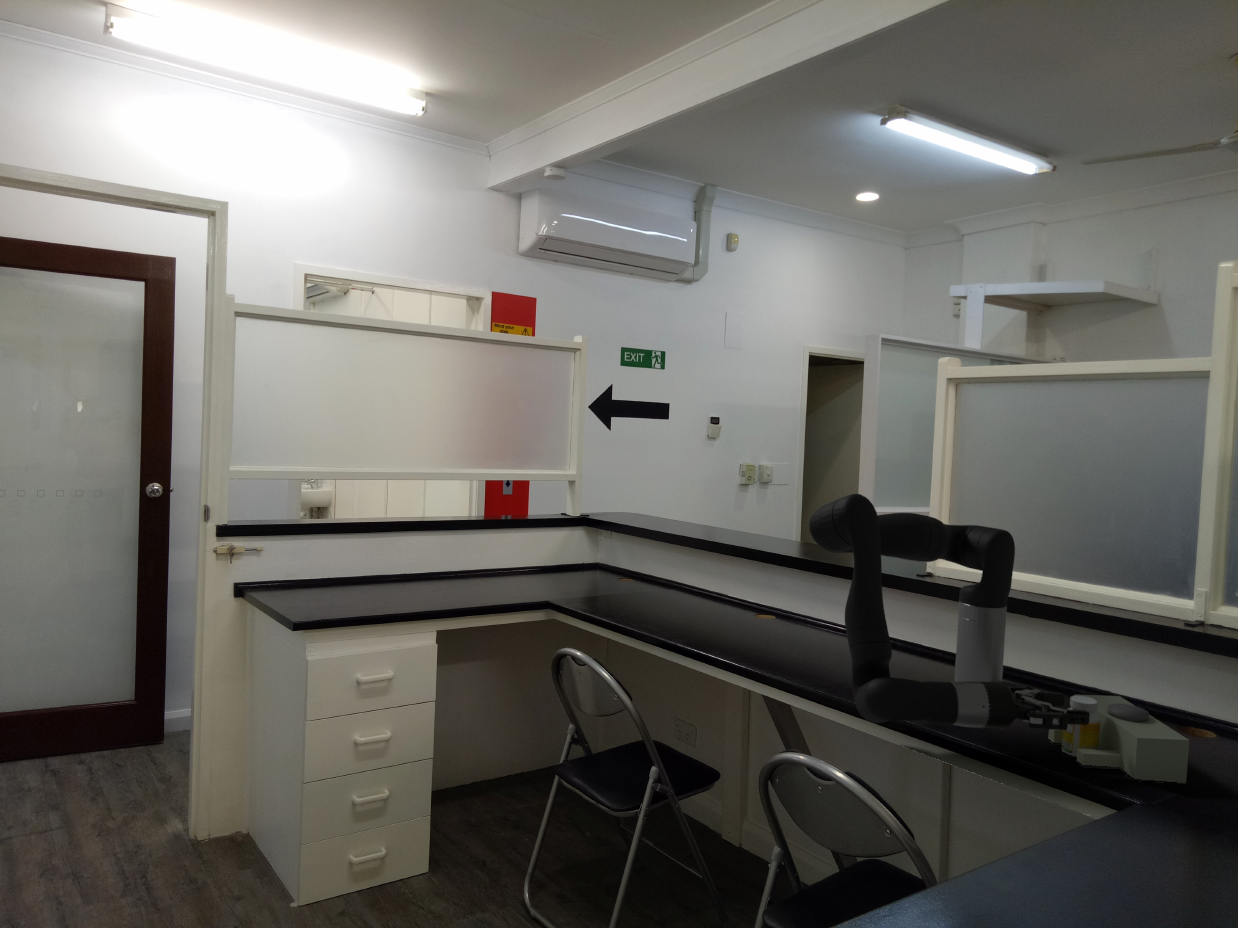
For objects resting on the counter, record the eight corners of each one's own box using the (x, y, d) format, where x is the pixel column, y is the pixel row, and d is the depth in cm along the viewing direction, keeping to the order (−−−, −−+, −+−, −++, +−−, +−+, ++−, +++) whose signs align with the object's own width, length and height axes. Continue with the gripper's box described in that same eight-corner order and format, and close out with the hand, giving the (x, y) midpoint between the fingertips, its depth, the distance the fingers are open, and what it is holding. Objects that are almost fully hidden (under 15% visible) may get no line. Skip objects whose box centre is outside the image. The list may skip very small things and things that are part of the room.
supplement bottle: (1057, 754, 145) (1061, 698, 144) (1067, 745, 149) (1071, 691, 148) (1092, 764, 141) (1096, 707, 140) (1101, 755, 145) (1105, 699, 144)
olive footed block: (1038, 730, 155) (1040, 687, 155) (1116, 733, 155) (1120, 690, 154) (1095, 779, 135) (1098, 729, 135) (1185, 783, 135) (1189, 733, 134)
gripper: (996, 696, 138) (1099, 701, 137) (963, 669, 152) (1056, 672, 151) (993, 742, 138) (1096, 746, 138) (961, 710, 152) (1053, 714, 152)
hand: (1075, 708), depth 145 cm, fingers open, 8 cm apart
